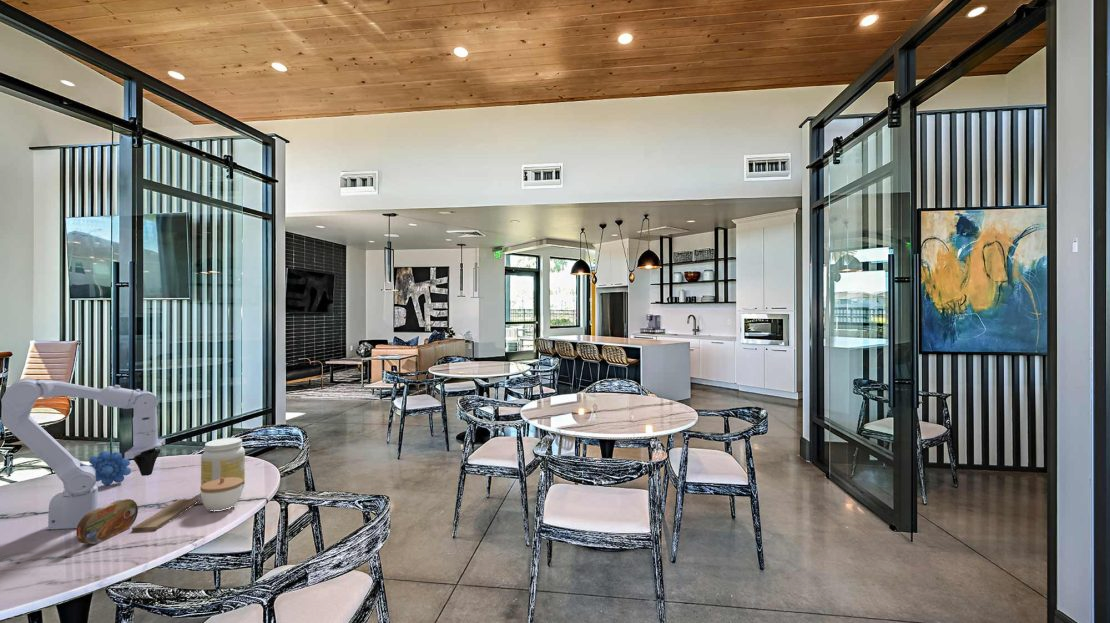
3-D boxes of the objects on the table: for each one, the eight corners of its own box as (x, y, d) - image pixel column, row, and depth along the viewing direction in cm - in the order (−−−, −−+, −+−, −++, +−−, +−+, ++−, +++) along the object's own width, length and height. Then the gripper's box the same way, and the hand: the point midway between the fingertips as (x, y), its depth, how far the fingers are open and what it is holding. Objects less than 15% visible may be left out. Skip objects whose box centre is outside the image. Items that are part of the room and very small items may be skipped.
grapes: (82, 492, 157) (82, 456, 157) (86, 486, 162) (87, 451, 162) (128, 485, 164) (129, 450, 164) (131, 479, 169) (132, 446, 169)
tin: (84, 550, 119) (85, 517, 119) (72, 550, 119) (73, 516, 119) (138, 524, 134) (139, 494, 134) (128, 524, 134) (128, 494, 134)
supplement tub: (248, 483, 167) (249, 435, 167) (239, 495, 155) (240, 444, 156) (207, 487, 162) (208, 438, 162) (194, 500, 151) (195, 448, 151)
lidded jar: (193, 517, 138) (193, 485, 139) (209, 503, 149) (209, 473, 149) (234, 513, 141) (235, 482, 141) (247, 499, 152) (248, 470, 152)
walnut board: (132, 531, 129) (132, 527, 129) (178, 503, 149) (178, 499, 149) (156, 530, 130) (156, 526, 130) (199, 502, 149) (199, 498, 149)
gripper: (143, 436, 137) (144, 482, 137) (175, 424, 152) (176, 466, 152) (116, 438, 136) (117, 484, 136) (150, 425, 150) (152, 467, 151)
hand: (146, 474), depth 144 cm, fingers closed
